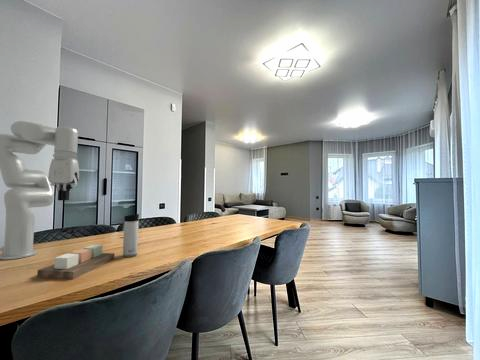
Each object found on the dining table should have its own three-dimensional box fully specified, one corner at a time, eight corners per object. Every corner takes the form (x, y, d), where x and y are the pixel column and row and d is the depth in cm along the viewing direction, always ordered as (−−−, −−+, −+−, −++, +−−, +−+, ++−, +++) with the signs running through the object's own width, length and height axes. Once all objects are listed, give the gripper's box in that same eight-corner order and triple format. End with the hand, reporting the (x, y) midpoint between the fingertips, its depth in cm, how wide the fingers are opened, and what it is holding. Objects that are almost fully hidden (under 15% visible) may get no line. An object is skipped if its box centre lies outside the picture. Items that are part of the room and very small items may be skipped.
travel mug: (131, 257, 100) (133, 214, 101) (119, 256, 101) (121, 214, 102) (140, 253, 106) (142, 213, 107) (129, 252, 108) (130, 212, 108)
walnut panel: (37, 276, 78) (37, 269, 78) (85, 257, 99) (86, 252, 100) (73, 279, 76) (73, 271, 76) (114, 258, 98) (114, 253, 98)
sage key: (82, 257, 92) (83, 247, 92) (91, 253, 97) (92, 244, 97) (93, 257, 92) (94, 248, 92) (102, 254, 97) (102, 245, 97)
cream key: (54, 268, 79) (54, 257, 79) (66, 263, 84) (66, 253, 84) (66, 269, 79) (67, 258, 79) (78, 264, 84) (78, 254, 84)
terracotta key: (69, 262, 86) (70, 252, 86) (79, 258, 91) (80, 248, 91) (81, 263, 85) (81, 252, 85) (91, 259, 90) (91, 249, 90)
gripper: (40, 155, 87) (37, 200, 87) (74, 155, 86) (72, 201, 85) (57, 157, 95) (55, 199, 94) (89, 158, 93) (87, 200, 93)
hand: (63, 200), depth 90 cm, fingers closed
